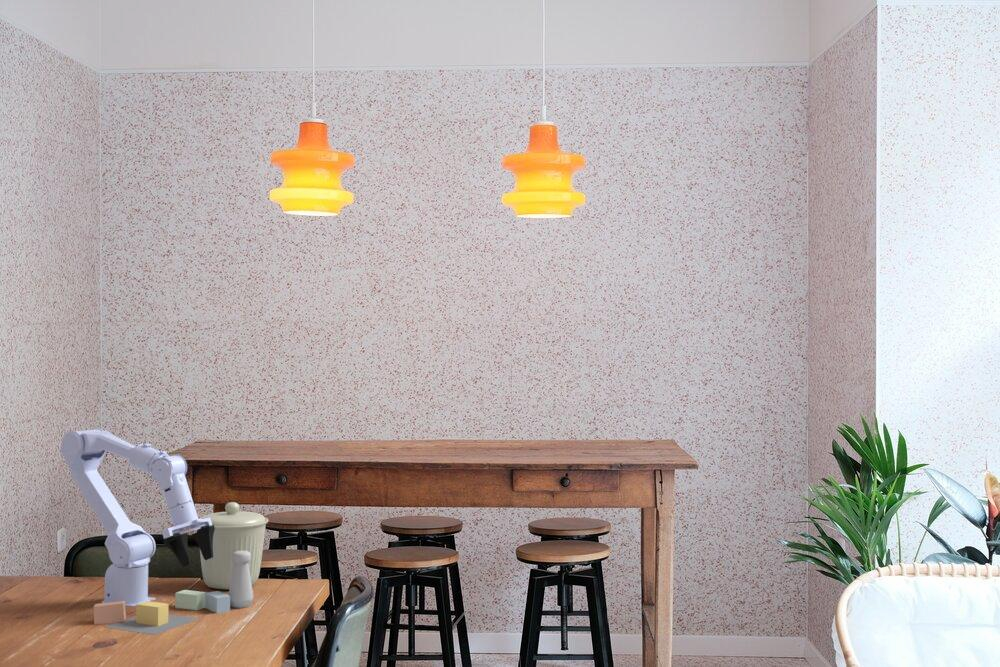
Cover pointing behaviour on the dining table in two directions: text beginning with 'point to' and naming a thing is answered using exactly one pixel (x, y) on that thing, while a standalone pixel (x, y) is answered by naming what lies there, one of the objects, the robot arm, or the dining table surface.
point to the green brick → (190, 599)
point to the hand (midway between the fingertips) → (198, 562)
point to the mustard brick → (152, 613)
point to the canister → (233, 544)
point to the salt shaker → (241, 581)
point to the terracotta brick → (109, 612)
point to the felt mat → (151, 629)
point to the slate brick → (217, 602)
